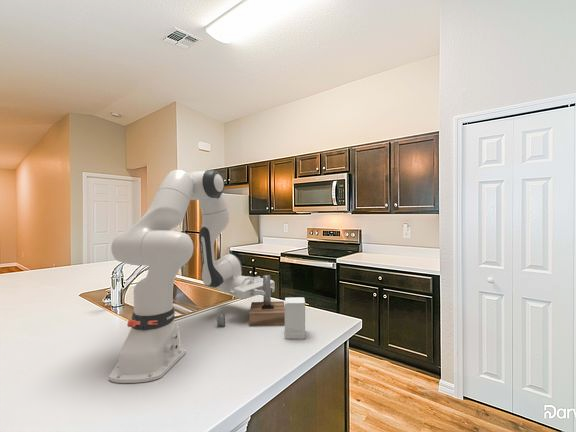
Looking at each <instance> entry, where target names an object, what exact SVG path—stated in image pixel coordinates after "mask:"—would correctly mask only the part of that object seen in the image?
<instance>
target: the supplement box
mask: <svg viewBox="0 0 576 432" xmlns="http://www.w3.org/2000/svg"><path fill="white" fill-rule="evenodd" d="M284 306H285V325H284V339H287V340H288V339H291V340H292V339H293V340H294V339H295V340H298V339H299V340H301V339H302V340H303V339H306V300H305V297H301V296H300V297H299V296H298V297H295V296H294V297H285V298H284Z"/></svg>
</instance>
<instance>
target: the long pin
mask: <svg viewBox="0 0 576 432" xmlns="http://www.w3.org/2000/svg"><path fill="white" fill-rule="evenodd" d="M262 278H263V290H265V291H266V295H263V296H262V298H263V302H264V309H271V302H272V301H271V300H272V296H271V295H272V292H271V288H270V280H271V275H270V274H264V275H262Z"/></svg>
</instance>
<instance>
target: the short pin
mask: <svg viewBox="0 0 576 432" xmlns="http://www.w3.org/2000/svg"><path fill="white" fill-rule="evenodd" d="M216 321H217V323H216V327H217V328H225V327H226V313H224V312H221V313H217V314H216Z"/></svg>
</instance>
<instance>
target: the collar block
mask: <svg viewBox="0 0 576 432" xmlns="http://www.w3.org/2000/svg"><path fill="white" fill-rule="evenodd" d="M249 308H250V309H249V312H248V313H249V314H248V315H249V327H258V326H259V327H262V326H263V327H265V326H267V327H268V326H271V327H272V326H285V300H284V301H283V300H282V301H271V309H264V301H252V302H251V304H250V307H249Z"/></svg>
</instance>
